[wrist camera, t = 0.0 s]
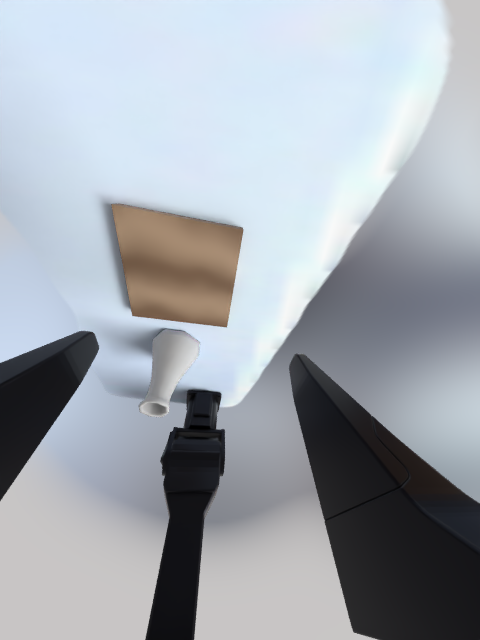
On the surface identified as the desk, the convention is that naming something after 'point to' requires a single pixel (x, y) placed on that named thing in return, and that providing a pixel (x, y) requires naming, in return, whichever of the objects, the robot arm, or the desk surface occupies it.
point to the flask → (168, 369)
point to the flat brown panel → (177, 265)
